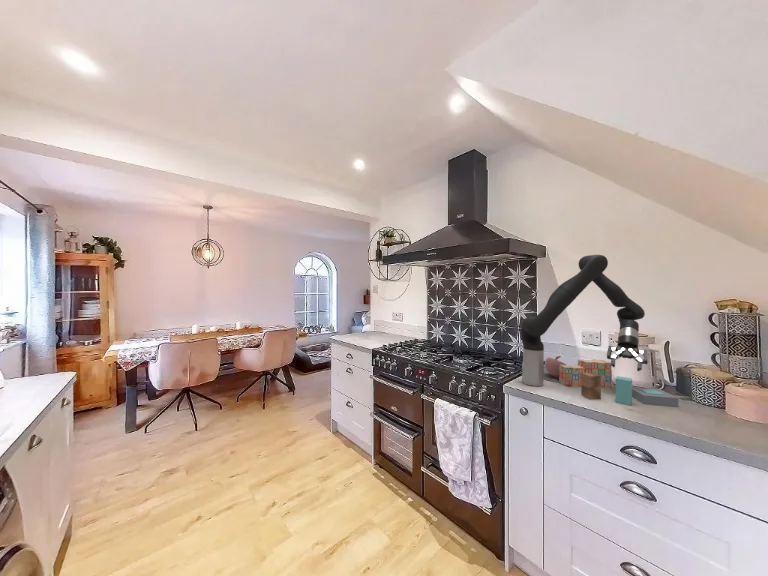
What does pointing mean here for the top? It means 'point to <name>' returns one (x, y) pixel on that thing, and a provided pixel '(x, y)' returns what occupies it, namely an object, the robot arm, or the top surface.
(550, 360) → the pink apple
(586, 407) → the top surface
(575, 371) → the stack of blocks
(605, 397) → the top surface
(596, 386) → the walnut block
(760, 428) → the top surface
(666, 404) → the grey square base
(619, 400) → the teal block
